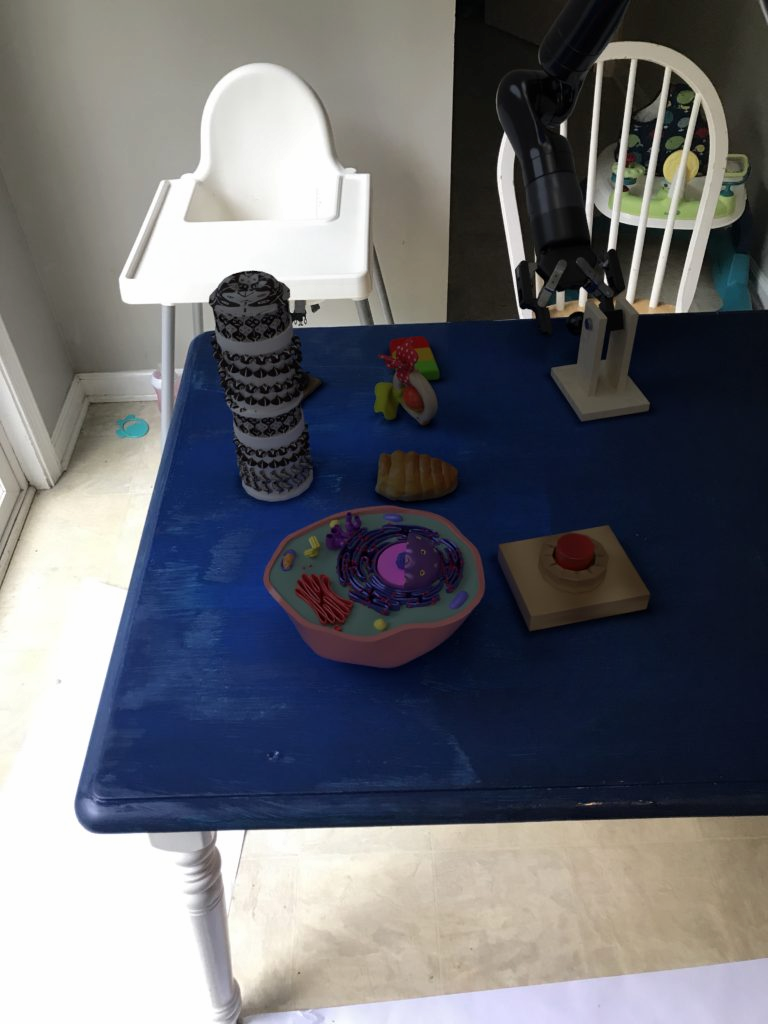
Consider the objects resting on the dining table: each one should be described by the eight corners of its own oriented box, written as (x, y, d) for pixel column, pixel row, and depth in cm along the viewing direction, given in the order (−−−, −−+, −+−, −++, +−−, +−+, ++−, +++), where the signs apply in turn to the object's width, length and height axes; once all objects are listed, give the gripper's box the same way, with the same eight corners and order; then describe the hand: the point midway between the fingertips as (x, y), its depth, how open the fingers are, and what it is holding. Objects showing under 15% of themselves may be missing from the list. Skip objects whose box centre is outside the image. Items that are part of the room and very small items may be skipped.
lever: (563, 337, 113) (561, 313, 112) (585, 334, 113) (583, 310, 113) (603, 335, 100) (601, 308, 100) (628, 332, 101) (626, 305, 100)
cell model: (293, 559, 88) (280, 477, 80) (483, 569, 86) (488, 486, 78) (258, 691, 76) (238, 609, 68) (479, 707, 73) (484, 625, 66)
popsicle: (426, 345, 119) (426, 333, 118) (448, 405, 108) (448, 392, 107) (388, 349, 118) (387, 338, 117) (406, 410, 107) (406, 398, 106)
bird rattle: (440, 425, 108) (392, 379, 110) (468, 371, 99) (416, 321, 101) (407, 448, 105) (359, 399, 107) (434, 394, 96) (381, 342, 97)
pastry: (457, 467, 98) (458, 442, 96) (457, 506, 93) (458, 480, 91) (378, 466, 99) (376, 441, 96) (374, 505, 94) (373, 479, 91)
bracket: (550, 375, 112) (560, 291, 104) (613, 365, 113) (627, 282, 105) (581, 421, 104) (594, 335, 96) (648, 411, 105) (667, 324, 97)
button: (583, 542, 83) (586, 530, 82) (598, 568, 80) (600, 555, 79) (549, 549, 83) (551, 536, 81) (562, 574, 80) (564, 561, 79)
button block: (605, 539, 88) (611, 512, 86) (646, 609, 81) (654, 581, 78) (497, 559, 87) (499, 531, 84) (529, 631, 80) (532, 603, 77)
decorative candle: (222, 490, 97) (179, 293, 80) (267, 446, 103) (235, 254, 86) (288, 513, 93) (258, 313, 76) (330, 466, 99) (311, 270, 82)
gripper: (514, 210, 108) (536, 332, 107) (617, 197, 110) (640, 317, 109) (499, 233, 115) (520, 347, 115) (596, 221, 117) (617, 333, 116)
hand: (578, 332), depth 112 cm, fingers open, 8 cm apart
